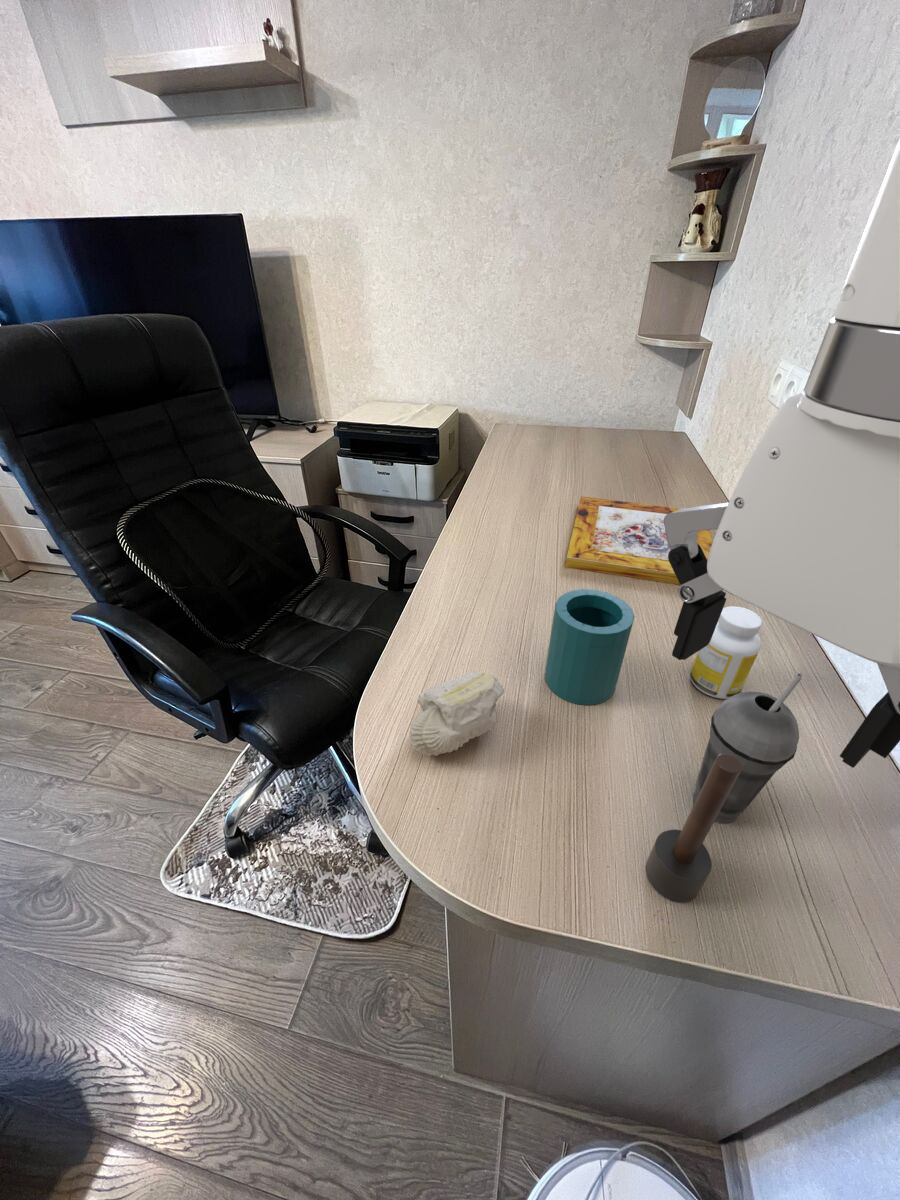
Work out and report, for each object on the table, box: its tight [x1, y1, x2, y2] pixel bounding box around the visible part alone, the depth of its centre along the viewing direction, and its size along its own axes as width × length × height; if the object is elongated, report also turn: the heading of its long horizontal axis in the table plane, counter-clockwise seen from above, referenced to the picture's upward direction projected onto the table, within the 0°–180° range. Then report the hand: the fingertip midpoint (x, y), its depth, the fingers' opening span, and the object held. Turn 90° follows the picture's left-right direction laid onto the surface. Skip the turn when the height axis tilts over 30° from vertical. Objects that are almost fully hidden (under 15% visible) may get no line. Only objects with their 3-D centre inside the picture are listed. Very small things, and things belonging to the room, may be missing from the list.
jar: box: [544, 588, 635, 706], centre depth 66 cm, size 10×10×12 cm
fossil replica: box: [409, 671, 505, 757], centre depth 59 cm, size 12×8×10 cm
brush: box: [645, 754, 742, 904], centre depth 43 cm, size 5×5×17 cm
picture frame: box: [564, 496, 714, 586], centre depth 103 cm, size 27×2×30 cm
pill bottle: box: [689, 605, 763, 700], centre depth 66 cm, size 6×6×12 cm
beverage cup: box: [692, 672, 804, 825], centre depth 48 cm, size 7×7×20 cm
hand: (764, 695), depth 29 cm, fingers open, 9 cm apart
